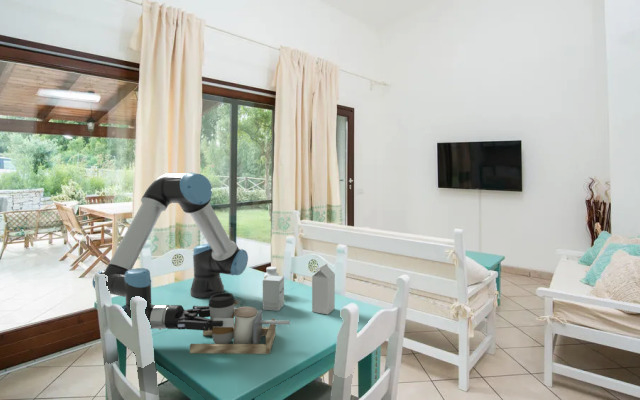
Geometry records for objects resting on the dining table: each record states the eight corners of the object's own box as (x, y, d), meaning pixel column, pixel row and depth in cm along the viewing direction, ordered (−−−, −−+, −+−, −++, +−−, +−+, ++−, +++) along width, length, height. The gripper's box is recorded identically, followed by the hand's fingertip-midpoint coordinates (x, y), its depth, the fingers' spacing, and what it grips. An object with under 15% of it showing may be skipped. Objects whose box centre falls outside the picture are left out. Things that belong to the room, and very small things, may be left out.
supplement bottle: (267, 298, 159) (266, 270, 158) (262, 293, 165) (262, 267, 164) (280, 295, 162) (280, 268, 161) (275, 291, 168) (275, 265, 167)
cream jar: (227, 343, 115) (230, 311, 114) (240, 335, 122) (243, 304, 121) (246, 349, 112) (249, 317, 111) (259, 340, 119) (261, 309, 118)
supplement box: (279, 311, 144) (279, 281, 143) (262, 309, 145) (262, 280, 144) (284, 304, 151) (284, 275, 150) (268, 303, 153) (268, 274, 152)
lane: (189, 353, 110) (189, 336, 110) (204, 333, 124) (203, 318, 123) (269, 353, 110) (269, 336, 110) (275, 334, 123) (275, 318, 123)
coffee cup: (213, 335, 120) (211, 292, 119) (237, 334, 121) (236, 291, 120) (207, 347, 112) (205, 301, 111) (233, 346, 113) (232, 300, 112)
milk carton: (334, 308, 146) (334, 264, 145) (327, 315, 140) (328, 268, 139) (319, 306, 149) (319, 262, 148) (312, 312, 143) (312, 266, 142)
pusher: (253, 350, 111) (253, 322, 111) (259, 335, 122) (259, 310, 121) (287, 350, 111) (287, 323, 111) (290, 335, 122) (290, 310, 121)
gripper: (181, 315, 127) (244, 315, 126) (153, 342, 106) (228, 343, 106) (180, 295, 126) (243, 295, 126) (153, 318, 106) (228, 319, 105)
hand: (236, 317), depth 116 cm, fingers closed on coffee cup, 7 cm apart
